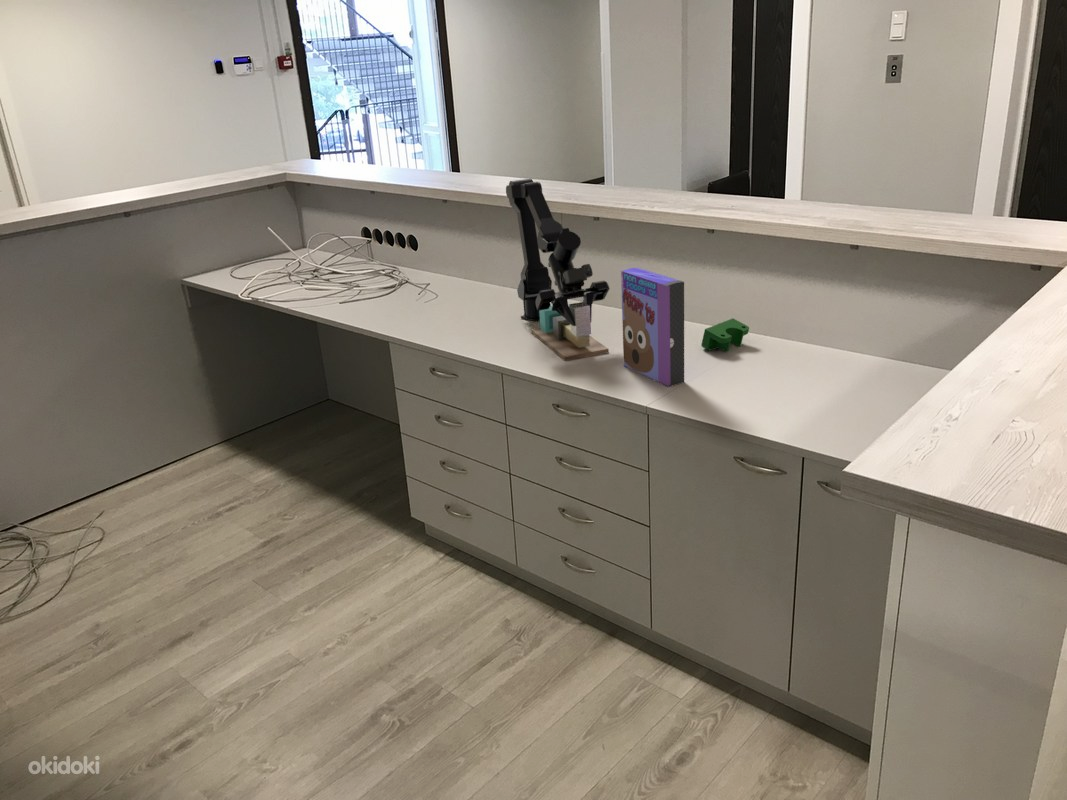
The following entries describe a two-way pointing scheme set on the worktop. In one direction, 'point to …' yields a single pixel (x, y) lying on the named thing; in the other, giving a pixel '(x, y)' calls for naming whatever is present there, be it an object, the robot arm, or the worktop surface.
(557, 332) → the sleeve
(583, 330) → the white-capped post
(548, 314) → the socket block
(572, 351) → the base board
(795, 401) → the worktop surface
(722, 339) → the clamp
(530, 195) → the robot arm
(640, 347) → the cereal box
